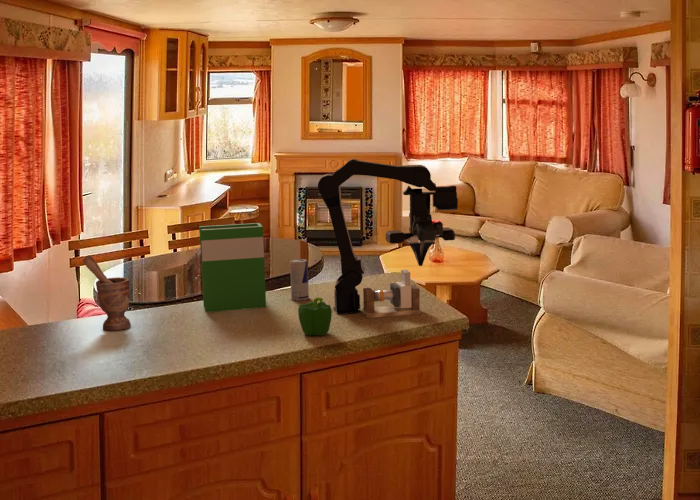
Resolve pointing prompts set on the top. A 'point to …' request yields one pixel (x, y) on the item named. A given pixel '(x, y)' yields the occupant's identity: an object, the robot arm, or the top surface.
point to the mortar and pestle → (111, 296)
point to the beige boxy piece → (405, 290)
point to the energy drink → (299, 279)
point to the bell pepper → (315, 317)
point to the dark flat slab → (395, 294)
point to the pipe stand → (388, 295)
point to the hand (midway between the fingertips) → (420, 265)
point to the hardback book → (232, 267)
